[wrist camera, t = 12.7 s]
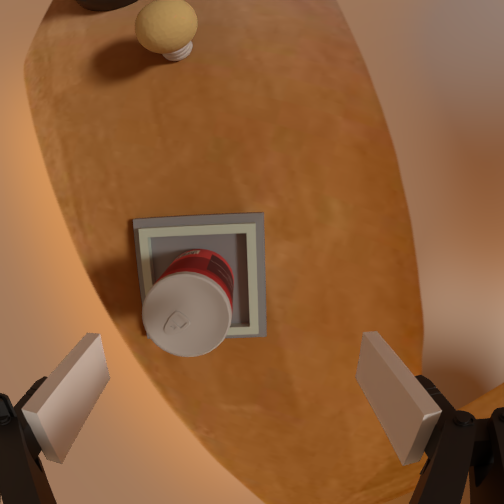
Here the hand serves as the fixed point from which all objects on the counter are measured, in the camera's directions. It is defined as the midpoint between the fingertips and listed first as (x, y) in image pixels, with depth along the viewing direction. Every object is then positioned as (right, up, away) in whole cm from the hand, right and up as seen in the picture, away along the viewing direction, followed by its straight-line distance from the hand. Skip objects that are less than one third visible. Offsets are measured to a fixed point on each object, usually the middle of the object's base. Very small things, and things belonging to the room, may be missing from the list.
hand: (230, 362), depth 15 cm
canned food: (-5, +2, +22) cm, 23 cm away
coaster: (-5, +2, +23) cm, 24 cm away
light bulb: (-8, +29, +17) cm, 35 cm away
